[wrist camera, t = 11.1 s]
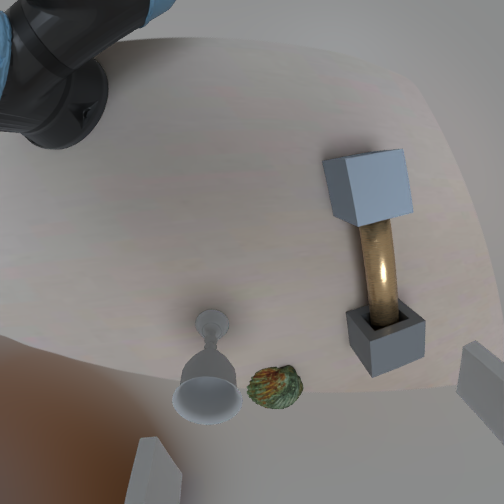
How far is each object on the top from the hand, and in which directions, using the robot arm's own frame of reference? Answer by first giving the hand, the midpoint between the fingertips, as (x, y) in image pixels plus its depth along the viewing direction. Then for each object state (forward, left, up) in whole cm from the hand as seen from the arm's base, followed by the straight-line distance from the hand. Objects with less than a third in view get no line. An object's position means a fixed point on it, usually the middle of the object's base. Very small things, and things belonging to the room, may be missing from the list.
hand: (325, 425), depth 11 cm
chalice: (+11, -9, -35) cm, 38 cm away
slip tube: (+9, +16, -32) cm, 37 cm away
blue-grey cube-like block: (-4, +16, -35) cm, 38 cm away
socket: (+18, +16, -35) cm, 42 cm away
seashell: (+26, -2, -35) cm, 44 cm away
